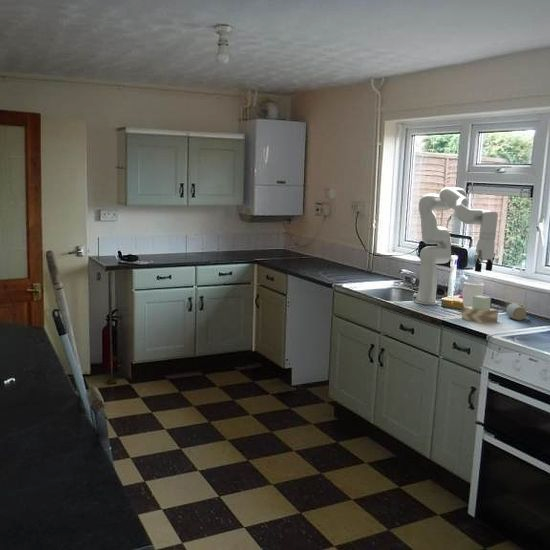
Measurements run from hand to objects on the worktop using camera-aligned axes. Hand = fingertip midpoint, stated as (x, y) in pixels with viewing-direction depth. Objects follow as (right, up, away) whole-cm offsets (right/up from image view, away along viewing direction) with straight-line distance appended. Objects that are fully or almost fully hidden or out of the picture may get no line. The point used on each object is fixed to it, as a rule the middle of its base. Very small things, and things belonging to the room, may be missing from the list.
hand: (483, 271), depth 308 cm
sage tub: (-1, -19, +2) cm, 19 cm away
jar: (+2, -21, +24) cm, 32 cm away
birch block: (-1, -25, +3) cm, 25 cm away
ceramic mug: (+21, -25, +10) cm, 34 cm away
